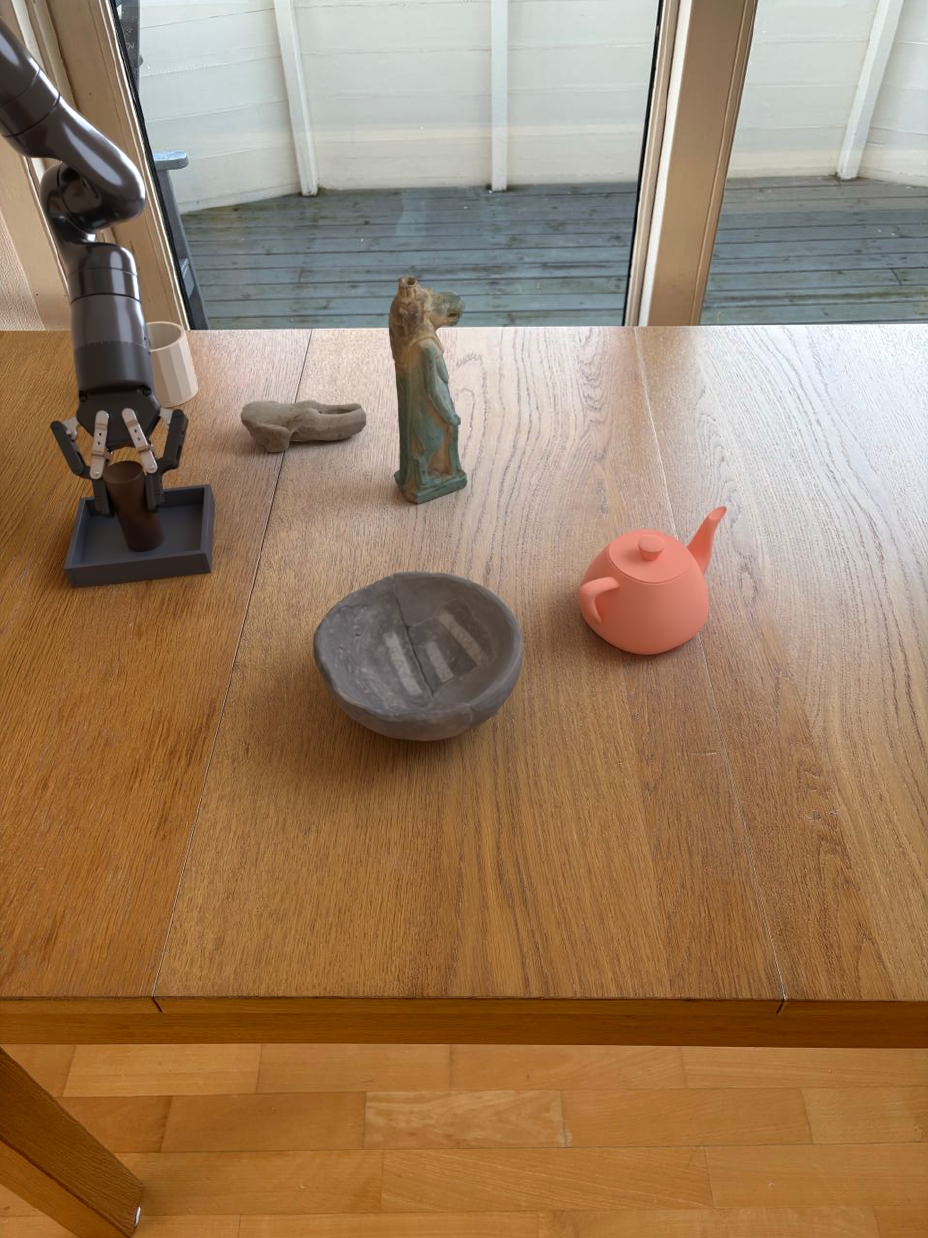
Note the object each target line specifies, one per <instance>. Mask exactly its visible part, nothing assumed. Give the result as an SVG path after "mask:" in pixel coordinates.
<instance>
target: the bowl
mask: <svg viewBox="0 0 928 1238" xmlns="http://www.w3.org/2000/svg"><path fill="white" fill-rule="evenodd" d="M312 639H313V641H312V645H313V646H312V651H313V652H312V653H313V655H312V656H313V659H314V664H315V666H316V668H317V672H318V674H319V676H320V678H321V680H322V682H323V685H324V686H325V689H326V691H327V692H328V694H329V695H330V697H331V699H332V700H333V702H334V703H335V704H336V705H337V706H338V707H339V708H340V709H341V710H342V711H343V712H344V713H345V714H346V715H347V716H348V717H350V718H351V720H354V721H356V722H357V723H359V724H360V725H362V726H363V727H365V728H367V729H369V730H371V731H373V732H375V733H377V734H379V735H381V736H384V737H387V738H390V739H391V738H392V739H394V740H395V739H396V740H406V741H407V740H408V741H421V742H432V741H441V740H445V739H449V738H453V737H456V736H458V735H461V734H463V733H464V734H465V733H467V732H470V731H471V730H473V729H475V728H477V727H479V726H480V725H482V724H484V723H486V722H487V721H489V720H490V719H491V718H492V717H493V716H494V715H495V714H496V713H497V712H498V711H499V710H500V709H501V708H502V707H503V705H504V704H505V703H506V701H507V700H508V698H509V697H510V696H511V695H512V693H513V690H514V688H515V686H516V685H517V682H518V681H519V676H520V673H521V669H522V666H523V659H524V658H523V657H524V639H523V632H522V629H521V625H520V622H519V621H518V618H517V617H516V616H515V614H514V613H513V611H512V610H511V608H510V607H509V606H508V604H506V602H505V601H503V600H502V599H501V598H500V597H498V596H497V595H496V594H495V593H494V592H492V591H491V590H490V589H488V588H486V587H485V586H483V585H481V584H480V583H477V582H475V581H472V580H469V579H468V578H465V577H462V576H458V575H455V574H452V573H447V572H442V571H441V572H440V571H439V572H438V571H435V572H430V571H401V572H393V573H392V574H391V575H388V576H384V577H383V578H381V579H378V580H376V581H375V582H373V583H371V584H368V585H365V586H363V587H361V588H359V589H356V590H355V591H353V592H351V593H349V594H347V595H346V596H344V597H342V599H341V600H339V601H338V602H337V603H336V604H334V606H332V607H331V608H330V609H328V611H327V613H326V614H325V615H324V617H323V618H322V620H321V621H320V622H319V624H318V625H317V627H316V629H315V631H314V633H313V638H312Z"/></svg>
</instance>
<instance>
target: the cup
mask: <svg viewBox="0 0 928 1238" xmlns="http://www.w3.org/2000/svg"><path fill="white" fill-rule="evenodd" d="M146 324H147V330H148V337H149V339H150V346H151V348H150V354H151V362H152V371H153V379H154V387H155V395H156V399H157V401H158V403H159V404H160V405H161V407H162V408H166V409H169V408H173V407H177V406H180V405H182V404H185V403H187V402H189V401H190V400H191V399H194V397H195V396H196V395H197V393H198V391H199V385H198V378H197V374H196V370H195V366H194V362H193V357H192V353H191V350H190V345H189V342H188V337H187V333H186V330H185V328H183V326H182V325H180V324H177V323H175V322H172V321H163V320H162V321H151V322H149V321H148V322H146Z"/></svg>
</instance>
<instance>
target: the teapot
mask: <svg viewBox="0 0 928 1238" xmlns="http://www.w3.org/2000/svg"><path fill="white" fill-rule="evenodd" d="M727 511H728V507H727V506H724V505H722V506H718V507H716V508H715V509H713V510H711V511H710V512H709V513H708V515H706V516H705V518H704V520H703V521H702V522H701V524H700V526H699V527H698V529H697V531H696V532H695V534H694V536H693V537H692V539H691V540H690V542H689V543H688V544H687V545H685V544H684V543H683V542H682V541H680V540H679V539H677V538H675V537H674V536H673V535H670V534H668V533H666V532H664V531H660V530H656V529H650V528H640V529H635V530H631V531H628V532H625V533H623V534H621V535H619V536H617V537H616V538H614V539H613V540H612V541H611V542H609V543H608V544H607V545H606V546H604V548H603V549H602V550H601V551H600V552H599V553H598V554H597V555H596V556H595V557H594V559H593V560H592V561H591V562H590V564H589V565H588V567H587V569H586V570H585V572H584V574H583V577H582V579H581V582H580V585H579V589H578V592H577V602H578V608H579V610H580V613H581V615H582V617H583V619H584V620H585V622H586V623H587V625H588V626H589V627H590V628H591V629H592V630H593V632H595V633H596V634H597V635H598V636H599V637H600V638H602V639H603V640H604V641H605V642H606V643H608V644H610V645H612V646H614V647H616V648H617V649H619V650H622V651H625V652H628V653H630V654H635V655H643V656H645V655H646V656H647V655H649V656H651V655H657V654H662V653H665V652H667V651H671V650H673V649H675V648H677V647H680V646H681V645H683V644H685V643H687V642H688V641H689V640H692V638H694V637H695V636H696V635H697V634H698V633H699V632H700V631H701V630H702V628H703V627H704V625H705V624H706V622H707V619H708V615H709V606H710V604H709V602H710V600H709V592H708V591H709V590H708V586H707V583H706V580H705V577H704V575H705V574H706V572H707V570H708V568H709V567H710V563H711V559H712V553H713V545H714V538H715V533H716V530H717V527H718V526H719V524H720V522H721V520H722V519H724V516H725V515H726V513H727Z"/></svg>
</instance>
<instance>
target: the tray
mask: <svg viewBox="0 0 928 1238" xmlns="http://www.w3.org/2000/svg"><path fill="white" fill-rule="evenodd" d="M163 492H164V500H165V503H164V506H163V507H159V509H160V512H159V513H157V514H158V517H159V520H160V523H161V526H162V529H163V533H164V541H163V542H162V544H161V545H159V546H158V547H157V548H155V549H152V550H150V551H145V552H137V551H133V550H131V549H130V548H128V546H127V544H126V541H125V538H124V535H123V532H122V529H121V527H120V524H119V521H118V518H117V515H116V513H115V510H114V514H115V517H114V518H105V517H103V515H102V513H100V512H98V511H97V509H96V508H95V501H94V495H93V496H86V497H85V496H82V497H79V502H78V506H77V509H76V514H75V520H74V523H73V528H72V532H71V535H70V541H69V545H68V549H67V553H66V558H65V563H64V567H63V571H64V573H65V575H66V577H67V580H68V583H69V585H70V587H71V589H81V588H87V587H88V588H89V587H97V586H106V585H115V584H122V583H132V582H142V581H148V580H149V581H150V580H158V579H165V578H166V579H167V578H174V577H175V578H177V577H184V576H192V575H199V574H201V575H202V574H210V573H212V563H213V560H212V559H213V544H214V542H213V541H214V528H215V511H216V510H215V509H216V501H215V498H214V493H213V489H212V486H211V484H210V483H206V484H196V485H187V486H178V487H168V488H163Z"/></svg>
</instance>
